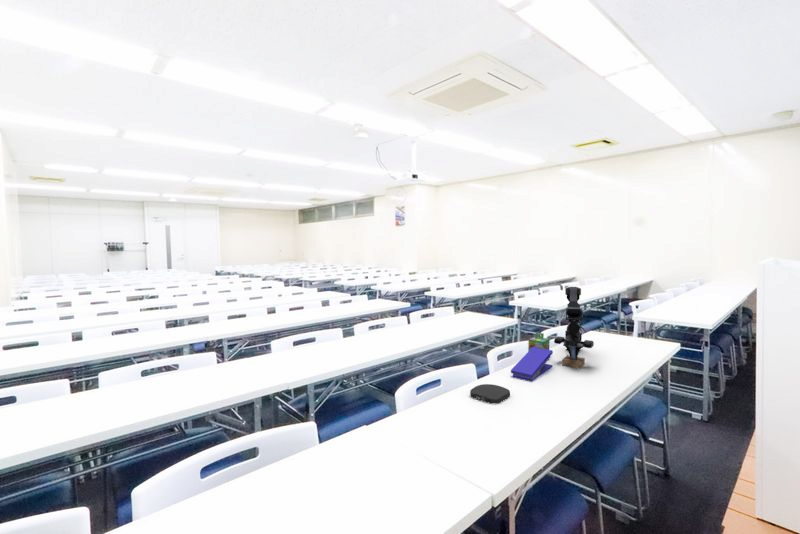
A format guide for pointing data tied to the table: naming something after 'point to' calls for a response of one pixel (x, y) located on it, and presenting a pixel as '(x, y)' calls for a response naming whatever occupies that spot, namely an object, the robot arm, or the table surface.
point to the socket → (573, 362)
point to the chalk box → (538, 342)
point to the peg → (573, 352)
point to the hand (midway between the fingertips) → (573, 357)
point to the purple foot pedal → (532, 364)
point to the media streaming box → (490, 393)
